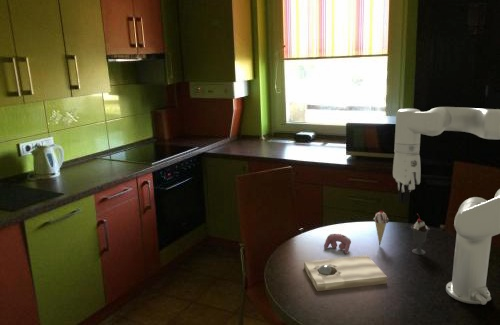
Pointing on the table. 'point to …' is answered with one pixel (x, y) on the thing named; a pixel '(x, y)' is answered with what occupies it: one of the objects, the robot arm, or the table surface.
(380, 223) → the ice cream cone
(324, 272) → the steel ball
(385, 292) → the table surface
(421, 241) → the sundae
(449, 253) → the table surface
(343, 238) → the video game controller
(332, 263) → the hole board
